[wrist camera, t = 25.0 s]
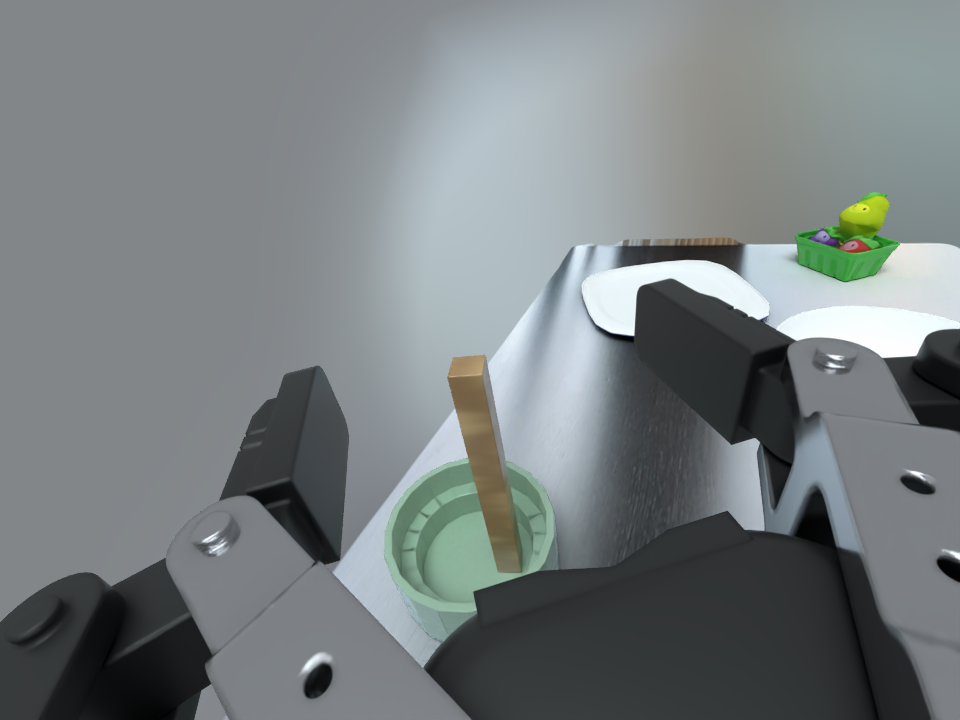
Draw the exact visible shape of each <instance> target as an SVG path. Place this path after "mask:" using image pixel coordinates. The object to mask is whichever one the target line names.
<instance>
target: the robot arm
mask: <svg viewBox="0 0 960 720" xmlns="http://www.w3.org/2000/svg"><path fill="white" fill-rule="evenodd" d="M634 344H635V349H636V352H637V354H638V356H639V358H640V359H641V361H642V362H643V363H644V364H645V365H646V366H647V367H648V368H649V369H651V370H652V371H653V372H654V373H655V374H656V375H657V376H658V377H659V378H660V379H661V380H662V381H663V382H665V383H666V384H667V385H668V386H669V387H670V388H671V389H672V390H673V391H674V392H675V393H676V394H677V395H679V396H680V397H681V398H682V399H683V400H684V401H685V402H686V403H687V404H688V405H689V406H690V407H691V408H692V409H694V410H695V411H696V412H697V413H698V414H699V415H700V416H701V417H702V418H703V419H704V420H705V421H706V422H708V423H709V424H710V425H711V426H712V427H713V428H714V429H715V430H716V431H717V432H718V433H719V434H720V435H722V436H723V437H724V438H725V439H726V440H727V441H728V442H729V443H730V444H731V445H732V444H736V443H739V442H742V441H746V440H749V439H752V438H756V439H757V440H758V441H760V445H759V448H758V451H757V459H758V468H759V477H760V486H761V495H762V504H763V513H764V523H765V531H756V530H744V529H743V528H742V527H741V526H740V524H739V523H738V522H737V521H736V520H735V519H734V518H733V517H732V515H731V514H730V513H729V512H728V511H725V512H722V513H719V514H716V515H713V516H710V517H707V518H703V519H700V520H697V521H694V522H691V523H688V524H685V525H681V526H678V527H675V528H672V529H669V530H667V531H665V532H664V533H663V534H661V535H660V536H658V537H657V538H655V539H654V540H652V541H651V542H649V543H648V544H647V545H645V546H644V547H642V548H641V549H639V550H638V551H636V552H635V553H633V554H632V555H631V556H629V557H628V558H626V559H625V560H623V561H622V562H620V563H619V564H617V565H615V566H612V567H606V568H586V569H565V570H545V571H536V572H533V573H530V574H527V575H524V576H521V577H517V578H514V579H511V580H508V581H505V582H502V583H499V584H495V585H492V586H489V587H486V588H483V589H480V590H477V591H473V594H474V599H475V604H476V609H477V614H475V615H474V616H472V617H471V618H469V619H468V620H466V621H465V622H464V623H463V624H461V625H460V626H459V627H458V628H457V629H456V630H455V631H453V632H452V633H451V634H450V635H449V636H448V637H447V638H446V639H445V641H444V642H443V643H442V644H441V645H440V646H439V647H438V648H437V650H436V651H435V652H434V654H433V655H432V656H431V658H430V659H429V660H428V662H427V663H426V664H425V666H424V668H422V667H421V666H420V665H419V664H418V663H417V662H416V660H415V659H414V658H413V657H412V656H411V655H410V654H409V653H408V652H407V651H406V650H405V649H404V648H403V647H402V646H401V645H400V644H399V643H398V642H397V640H396V639H395V638H394V637H393V636H392V635H391V634H390V633H389V632H388V631H387V630H386V629H385V628H384V627H383V626H382V625H381V624H380V623H379V622H378V620H377V619H376V618H375V617H374V616H373V615H372V614H371V613H370V612H369V611H368V610H367V609H366V608H365V607H364V606H363V605H362V604H361V603H360V602H359V601H358V599H357V598H356V597H355V596H354V595H353V594H352V593H351V592H350V591H349V590H348V589H347V588H346V587H345V586H344V585H343V584H342V583H341V582H340V581H339V579H338V578H337V577H336V576H335V575H334V574H333V573H332V572H331V571H330V570H329V569H328V568H327V567H326V566H325V565H326V564H329V563H333V562H336V561H339V560H340V554H341V553H340V552H341V540H342V527H343V513H344V499H345V486H346V472H347V459H348V445H349V434H348V428H347V424H346V420H345V418H344V415H343V413H342V410H341V408H340V406H339V404H338V401H337V399H336V397H335V395H334V392H333V390H332V388H331V386H330V384H329V381H328V379H327V377H326V375H325V373H324V371H323V369H322V368H321V367H320V366H314V367H310V368H307V369H302V370H298V371H294V372H290V373H287V374H285V375H284V377H283V380H282V383H281V387H280V389H279V393H278V395H277V398H274V399H270V400H267V401H266V402H265V403H264V404H263V405H262V406H261V408H260V409H259V410H258V411H257V412H256V413H255V414H254V415H253V416H252V419H251V421H250V424H249V426H248V429H247V432H246V437H244V439H243V442H242V444H241V447H240V449H241V451H239V452H238V454H237V457H236V459H235V462H234V464H233V467H232V470H231V472H230V474H229V477H228V479H227V482H226V484H225V487H224V489H223V492H222V495H221V497H220V500H219V502H216V503H214V504H212V505H211V506H209V507H207V508H205V509H204V510H203V511H201V512H199V513H198V514H197V515H195V516H194V517H193V518H192V519H191V520H190V521H188V522H187V523H186V524H185V525H184V526H183V527H182V528H181V529H180V531H179V532H178V533H177V535H176V536H175V537H174V539H173V540H172V542H171V544H170V546H169V548H168V551H167V554H166V558H164V559H163V560H161V561H159V562H157V563H155V564H153V565H151V566H149V567H148V568H146V569H144V570H142V571H140V572H138V573H136V574H134V575H132V576H130V577H129V578H127V579H125V580H123V581H121V582H119V583H117V584H115V585H113V586H112V587H111V586H110V585H109V584H107V583H106V582H105V581H104V580H103V579H101V578H100V577H99V576H97V575H96V574H93V573H78V574H74V575H70V576H68V577H65V578H62V579H60V580H58V581H56V582H54V583H51V584H50V585H48V586H46V587H45V588H43V589H41V590H39V591H38V592H36V593H35V594H34V595H32V596H31V597H29V598H28V599H26V600H25V601H24V602H23V603H21V604H20V605H19V606H17V608H15V609H14V610H13V611H12V612H11V613H9V614H8V615H7V616H6V617H5V618H4V619H3V620H2V621H1V622H0V720H194V718H195V714H196V710H197V706H198V702H199V698H200V694H201V690H202V689H204V688H206V687H207V686H209V685H210V684H212V686H213V688H214V690H215V692H216V694H217V696H218V698H219V700H220V702H221V704H222V706H223V708H224V710H225V712H226V714H227V716H228V718H229V720H960V329H944V330H938V331H934V332H932V333H930V334H928V335H927V336H926V337H925V339H924V341H923V343H922V345H921V347H920V349H919V351H918V353H917V355H916V356H906V357H887V358H882V357H881V356H880V355H879V354H877V353H876V352H874V351H873V350H871V349H869V348H867V347H865V346H862V345H860V344H857V343H853V342H850V341H846V340H841V339H835V338H824V337H816V338H806V339H801V340H798V341H796V340H794V339H793V338H791V337H789V336H787V335H785V334H783V333H782V332H780V331H778V330H776V329H774V328H772V327H770V326H769V325H767V324H765V323H763V322H761V321H759V320H758V319H756V318H754V317H752V316H750V317H748V314H746V313H745V312H743V311H741V310H739V309H734V306H732V305H730V304H728V303H726V302H724V301H722V300H721V299H719V298H717V297H713V296H709V295H706V294H702V293H698V292H697V291H695V290H693V289H691V288H689V287H688V286H686V285H684V284H682V283H681V282H679V281H677V280H675V279H672V278H669V279H665V280H661V281H657V282H653V283H649V284H645V285H642V286H640V287H639V289H638V291H637V296H636V313H635V332H634Z"/></svg>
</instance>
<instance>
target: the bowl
mask: <svg viewBox="0 0 960 720" xmlns="http://www.w3.org/2000/svg"><path fill="white" fill-rule="evenodd" d="M944 329H960V322H958V321H955V320H951V319H947V318H943V317H939V316H935V315H931V314H926V313H921V312H915V311H910V310H903V309H895V308H887V307H873V306H838V307H826V308H820V309H814V310H809V311H806V312H803V313H799V314H796V315H794V316H792V317H790V318H788V319H786V320H785V321H784V322H782V323H781V324H780V325H779V326H778V327H777V329H776V330H778V331H780V332H782V333H783V334H785V335H787V336H789V337H791V338H793V339H794V340H796V341H798V340H801V339H806V338H816V337H824V338H835V339H841V340H846V341H850V342H853V343H857V344H860V345H862V346H865V347H867V348H869V349H871V350H873V351H874V352H876V353H877V354H879V355H880V356H881V357H882V358H887V357H906V356H916V355H917V353H918V351H919V349H920V347H921V345H922V343H923V341H924V339H925V337H926V336H927V335H928V334H930V333H932V332H934V331H938V330H944Z"/></svg>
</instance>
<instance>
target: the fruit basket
mask: <svg viewBox="0 0 960 720" xmlns="http://www.w3.org/2000/svg"><path fill="white" fill-rule="evenodd" d="M886 197H887V195H886V194H879V193H877V192H873V193H869V194H867V195H866V196H864V197H863V198H862V199H861V200H859V201H858V202H857V204H855V205H852V206H850V207H848V208H847V209H845V210H844V211H843V212H842V213H841V214H840V216H839V222H840V227H835V226H834V227H827V228H826V227H824V228H822V229H816V230H811V231H807V232H802V233H798V234H796V235H795V239H796V241H797V250H798V262H799V264H800V265H803V266H806V267H809V268H811V269H813V270H816V271H819V272H822V273H824V274H826V275H829V276H832V277H835V278H837V279H839V280H842V281H849V280H853V279H858V278H863V277H866V276H870V275H875V274H876V272H877V271H878V270H879V269H880V267H881V266H882V265H883V263H884V262H885V261H886V259H887V258H888V257H889V256H890V254H891V253H892V252H893V251H894V250H895V249H896V248H897V247H898V246H899V245H900V243H899V242H897V241H893V240H889V239H886V238H883V237H879V236H876V233H877V232H878V231H879V230H880V228H881V227H882V225H883V223H884V220H885V215H886V212H887V210H888V209H889V203H888V201H887V199H886Z"/></svg>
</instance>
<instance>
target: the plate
mask: <svg viewBox="0 0 960 720" xmlns="http://www.w3.org/2000/svg"><path fill="white" fill-rule="evenodd" d="M669 278H672V279H675V280H677V281H679V282H681V283H682V284H684V285H686V286H688V287H689V288H691V289H693V290H695V291H697V292H698V293H702V294H706V295H709V296H713V297H717V298H719V299H721V300H722V301H724V302H726V303H728V304H730V305H732V306H734V309H739V310H741V311H743V312H745V313H746V314H748V317H750V316H752V317H754V318H756V319H758V320H759V321H760V320H762V319H764V318H766V317H768V316H769V308H770V304H769V303H768V302H767V301H766V300H765V298H764V297H763V296H762V295H761V294H760V293H759V292H758V291H757V290H756V289H755V288H753V287H752V286H751V285H750V284H749V283H748V282H746V281H745V280H744V279H743V278H741V277H740V276H739V275H738V274H736V273H735V272H733V271H731V270H730V269H728V268H726V267H725V266H723V265H720V264H716V263H713V262H709V261H698V260H682V261H669V262H660V263H652V264H644V265H637V266H629V267H622V268H617V269H611V270H606V271H602V272H599V273H596V274H594V275H591V276H588V277H587V278H586V279H585V281H584V282H583V283H582V295H583V299H584V302H585V305H586V308H587V310H588V313H589V315H590V317H591V318H592V320H593V321H594V323H595V324H596V326H598V327H600V328H602V329H603V330H605V331H607V332H608V333H610V334H616V335H623V336H631V337H634V332H635V313H636V296H637V291H638V289H639V287H640V286H642V285H645V284H649V283H653V282H657V281H661V280H665V279H669Z"/></svg>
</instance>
